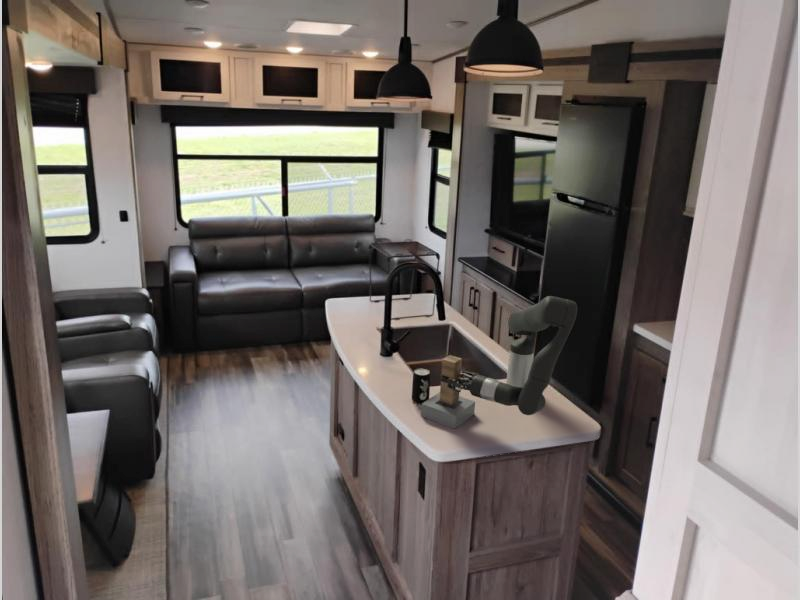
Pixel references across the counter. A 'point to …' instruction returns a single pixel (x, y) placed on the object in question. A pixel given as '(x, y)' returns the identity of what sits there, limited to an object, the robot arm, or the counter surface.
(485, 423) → the counter surface
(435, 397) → the well block
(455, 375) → the tall wooden block
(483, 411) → the counter surface
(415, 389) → the beverage can
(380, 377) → the counter surface
